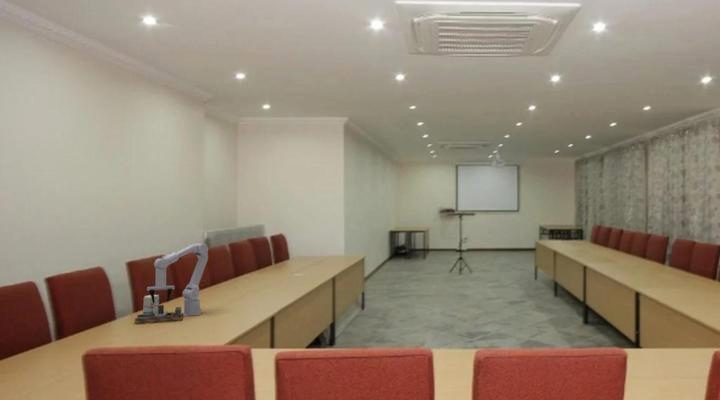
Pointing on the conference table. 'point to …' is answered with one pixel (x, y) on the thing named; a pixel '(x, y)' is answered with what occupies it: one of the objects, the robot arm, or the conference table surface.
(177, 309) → the board
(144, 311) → the ink box
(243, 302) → the conference table surface
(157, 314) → the carriage
